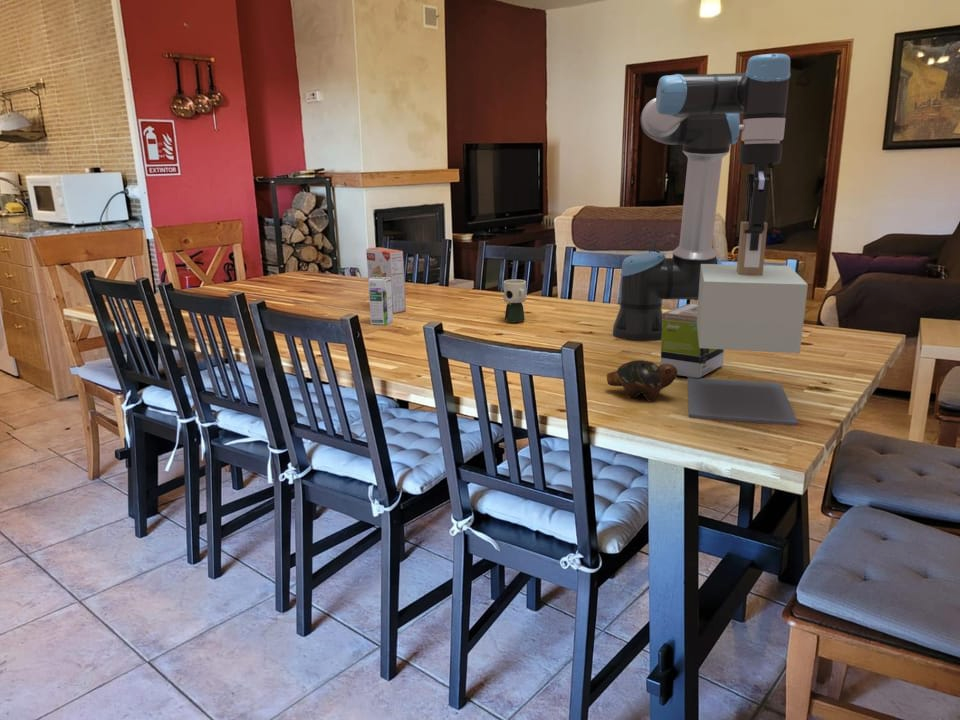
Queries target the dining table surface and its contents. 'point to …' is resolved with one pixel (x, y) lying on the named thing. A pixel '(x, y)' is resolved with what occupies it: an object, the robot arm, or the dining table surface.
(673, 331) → the tea box
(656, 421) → the dining table surface
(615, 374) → the decorative turtle
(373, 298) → the syrup box
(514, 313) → the character mug
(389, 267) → the cracker box
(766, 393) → the mat
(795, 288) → the cover
